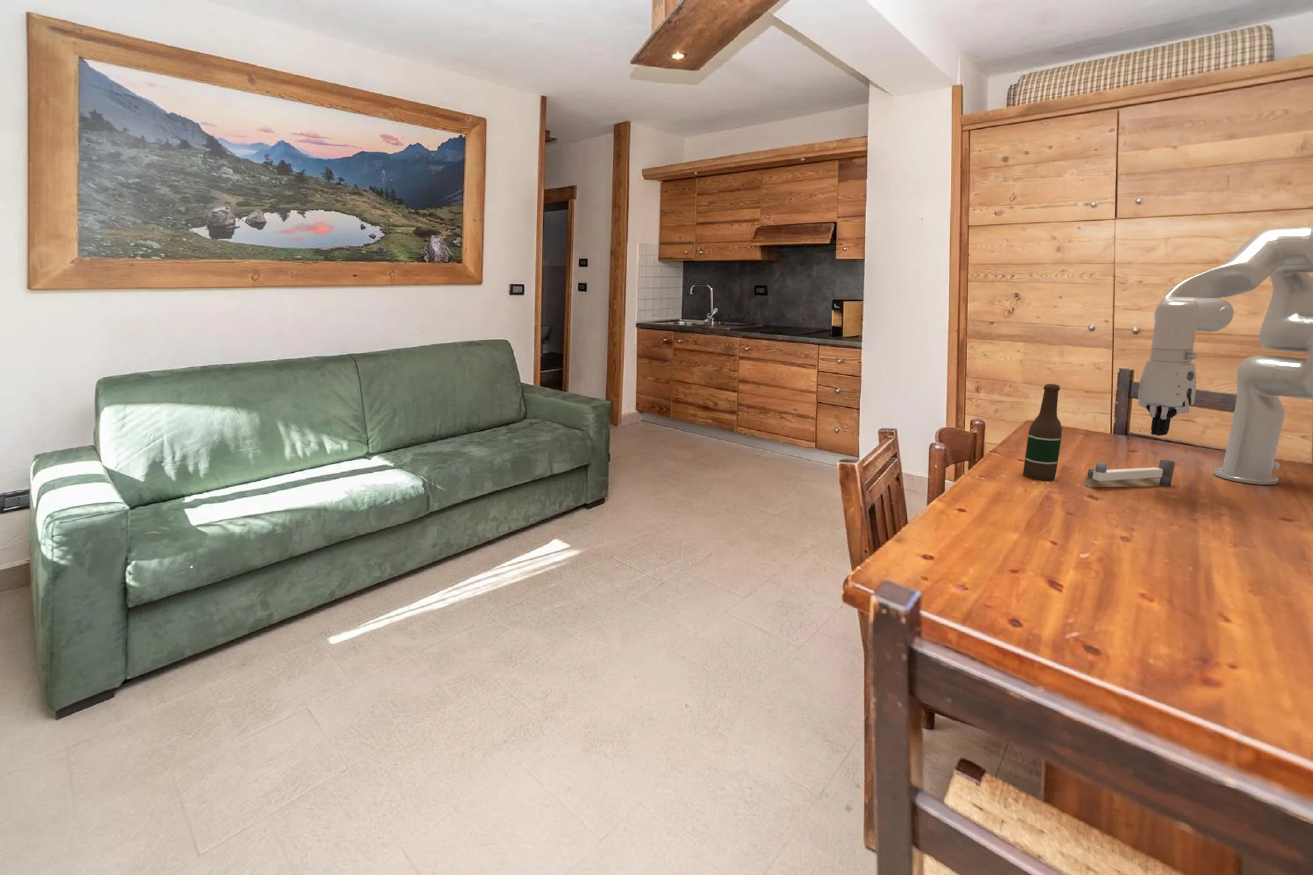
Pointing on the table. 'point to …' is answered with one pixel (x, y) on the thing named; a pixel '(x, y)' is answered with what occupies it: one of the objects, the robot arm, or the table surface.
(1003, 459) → the table surface
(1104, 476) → the tongs moving jaw
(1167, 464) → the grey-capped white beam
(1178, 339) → the robot arm
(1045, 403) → the beer bottle
